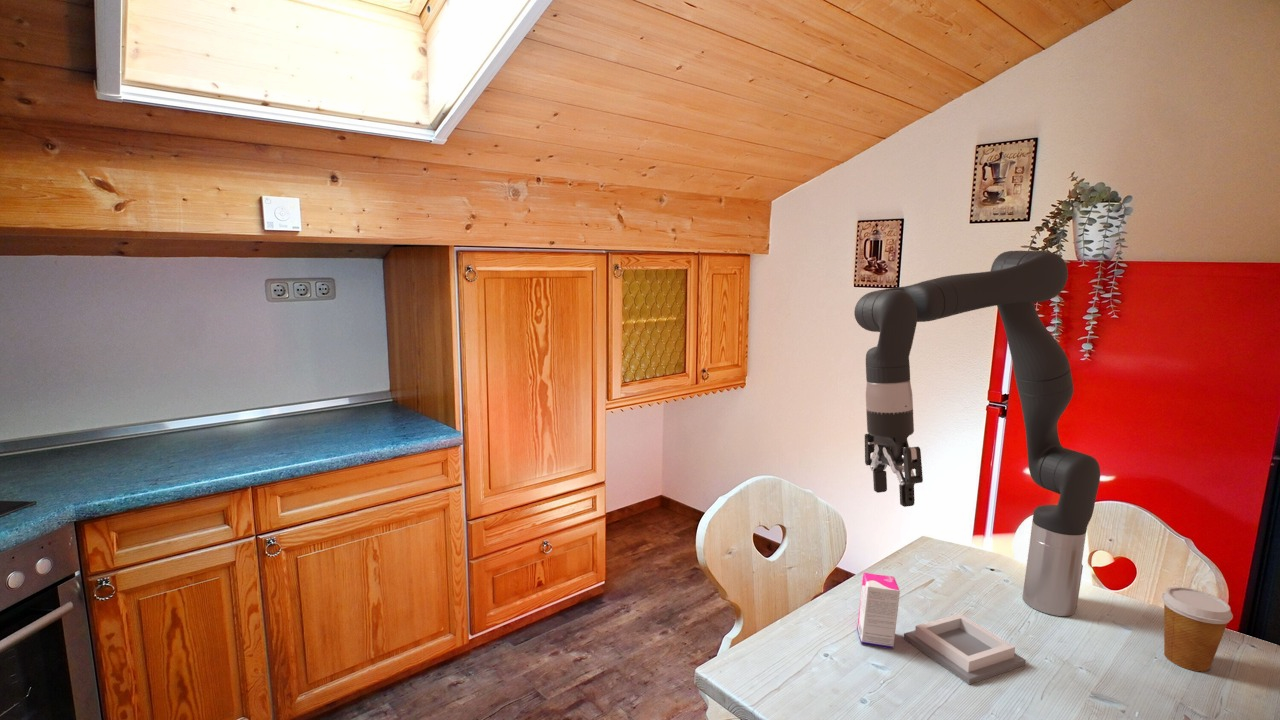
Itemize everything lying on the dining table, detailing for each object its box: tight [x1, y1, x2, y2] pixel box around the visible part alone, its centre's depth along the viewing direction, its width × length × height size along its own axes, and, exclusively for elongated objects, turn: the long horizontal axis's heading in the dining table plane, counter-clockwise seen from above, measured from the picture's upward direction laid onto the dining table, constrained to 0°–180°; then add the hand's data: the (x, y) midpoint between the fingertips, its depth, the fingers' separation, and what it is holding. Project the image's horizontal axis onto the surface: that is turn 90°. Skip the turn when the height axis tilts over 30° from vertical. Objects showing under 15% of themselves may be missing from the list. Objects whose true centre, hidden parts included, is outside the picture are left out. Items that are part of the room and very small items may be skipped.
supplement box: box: [856, 572, 901, 650], centre depth 117 cm, size 6×6×12 cm
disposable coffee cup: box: [1161, 586, 1234, 673], centre depth 113 cm, size 10×10×12 cm
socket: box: [903, 613, 1026, 685], centre depth 115 cm, size 14×14×3 cm
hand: (893, 498), depth 111 cm, fingers open, 8 cm apart
